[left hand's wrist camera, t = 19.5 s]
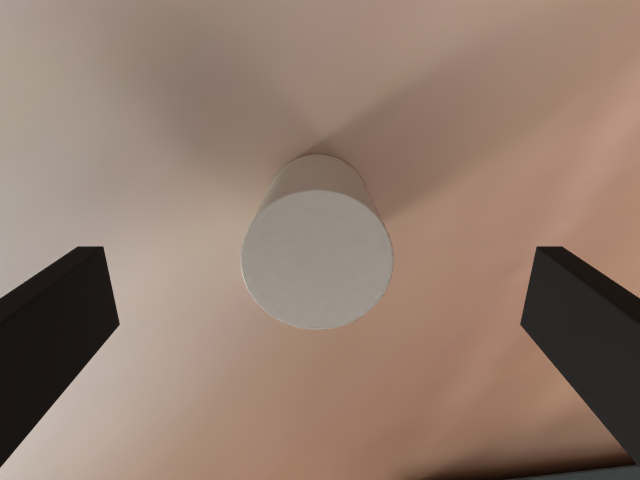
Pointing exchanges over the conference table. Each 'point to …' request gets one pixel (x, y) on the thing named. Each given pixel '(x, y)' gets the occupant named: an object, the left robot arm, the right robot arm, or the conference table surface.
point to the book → (593, 474)
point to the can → (317, 246)
